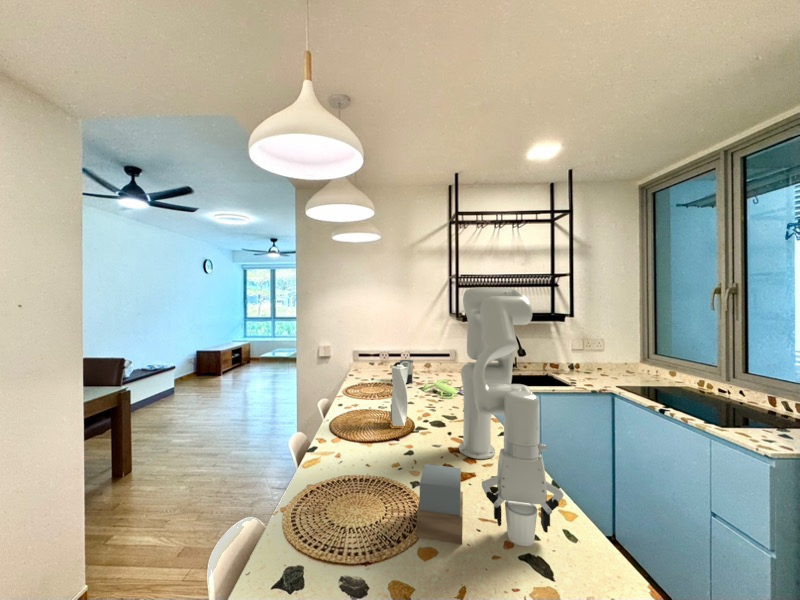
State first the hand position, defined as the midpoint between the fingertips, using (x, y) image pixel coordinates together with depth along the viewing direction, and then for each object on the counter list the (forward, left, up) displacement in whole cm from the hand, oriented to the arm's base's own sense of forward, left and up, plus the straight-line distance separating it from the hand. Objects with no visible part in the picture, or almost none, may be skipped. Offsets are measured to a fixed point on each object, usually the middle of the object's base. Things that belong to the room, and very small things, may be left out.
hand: (521, 525), depth 72 cm
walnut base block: (0, -18, -3) cm, 18 cm away
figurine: (-120, -25, -3) cm, 123 cm away
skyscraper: (-60, -40, -3) cm, 73 cm away
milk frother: (-135, -53, -3) cm, 145 cm away
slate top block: (0, -18, +3) cm, 18 cm away
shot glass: (0, 0, -3) cm, 3 cm away
